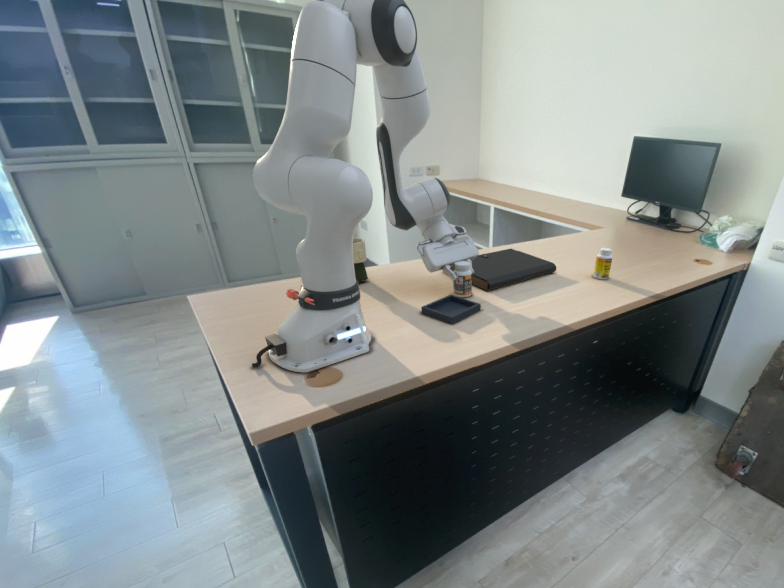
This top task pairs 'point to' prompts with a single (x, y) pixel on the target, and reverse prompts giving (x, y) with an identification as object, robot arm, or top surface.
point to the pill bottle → (462, 279)
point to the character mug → (359, 259)
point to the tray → (451, 309)
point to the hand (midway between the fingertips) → (464, 276)
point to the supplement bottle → (603, 264)
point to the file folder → (507, 268)
